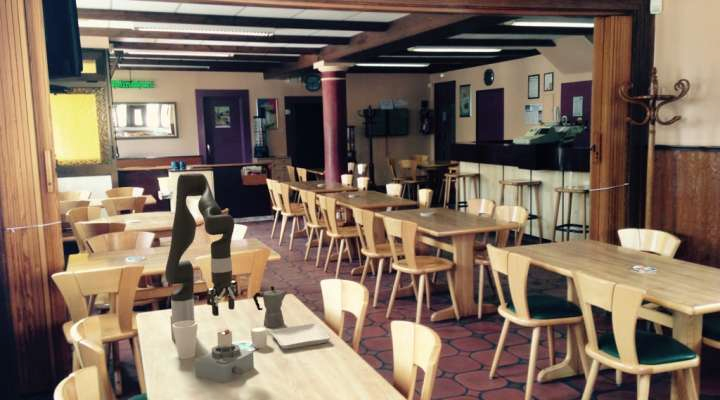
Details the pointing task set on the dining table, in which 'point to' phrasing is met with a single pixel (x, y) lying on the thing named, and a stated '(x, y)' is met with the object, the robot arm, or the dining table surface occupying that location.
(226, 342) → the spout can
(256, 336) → the cream short cylinder
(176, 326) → the foam cup
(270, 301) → the coffeepot
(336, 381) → the dining table surface
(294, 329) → the salad plate
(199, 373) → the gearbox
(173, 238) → the robot arm
